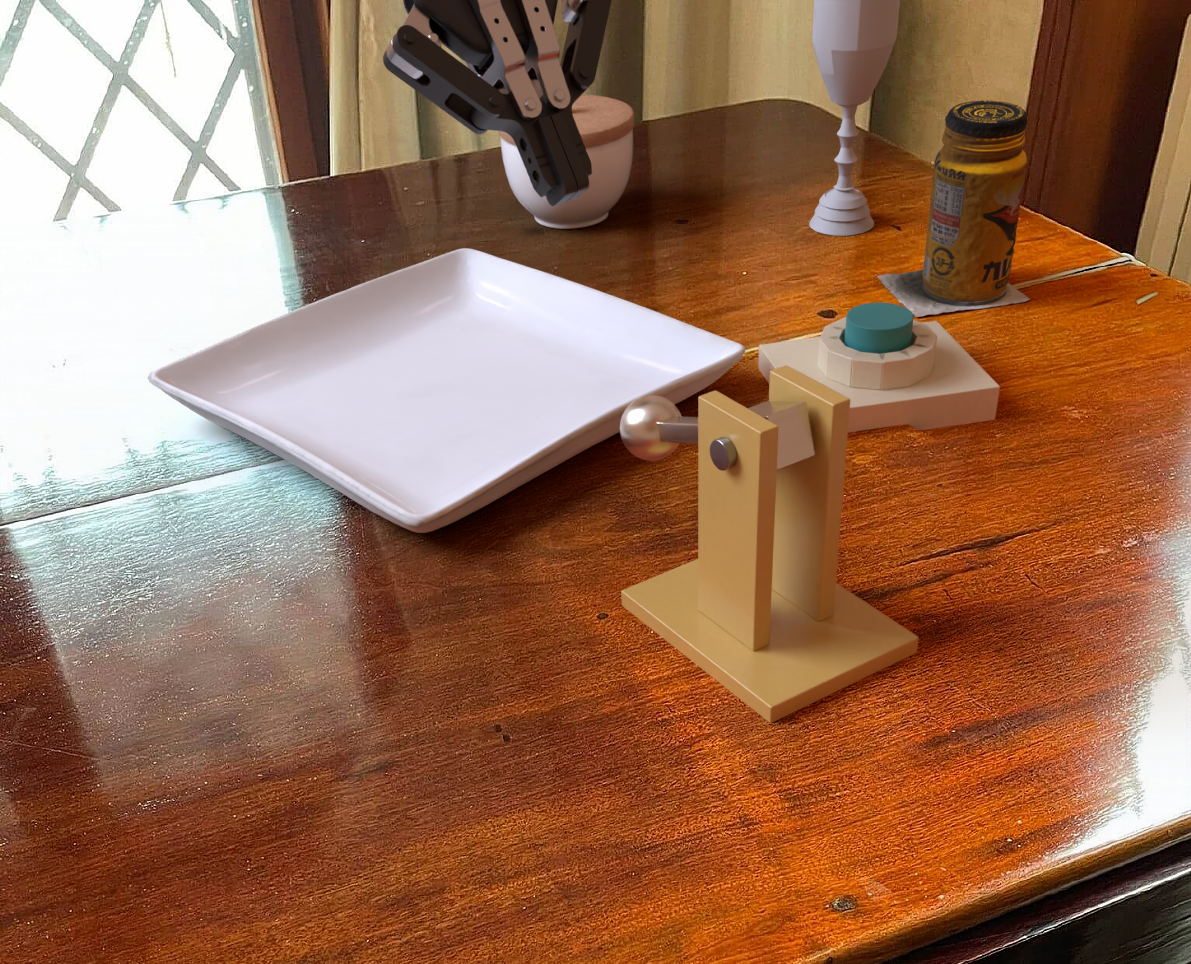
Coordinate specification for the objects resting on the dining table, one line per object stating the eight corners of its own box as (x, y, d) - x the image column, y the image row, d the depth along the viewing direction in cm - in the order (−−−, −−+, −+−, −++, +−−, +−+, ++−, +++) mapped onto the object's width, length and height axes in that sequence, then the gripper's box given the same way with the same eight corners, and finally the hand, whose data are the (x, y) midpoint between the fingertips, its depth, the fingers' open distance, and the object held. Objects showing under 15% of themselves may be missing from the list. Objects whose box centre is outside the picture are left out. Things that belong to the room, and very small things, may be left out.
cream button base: (932, 352, 93) (939, 293, 90) (995, 420, 85) (1004, 357, 83) (757, 376, 91) (759, 317, 89) (805, 447, 84) (809, 385, 81)
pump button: (896, 326, 88) (899, 298, 86) (920, 352, 85) (923, 324, 84) (835, 334, 87) (837, 307, 86) (857, 361, 84) (859, 333, 83)
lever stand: (621, 614, 72) (611, 379, 63) (759, 556, 75) (767, 325, 67) (769, 733, 64) (781, 483, 56) (916, 662, 68) (948, 416, 59)
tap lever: (616, 467, 72) (601, 405, 71) (666, 448, 73) (653, 387, 72) (770, 483, 61) (756, 410, 60) (826, 461, 62) (814, 389, 61)
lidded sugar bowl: (651, 229, 112) (648, 103, 105) (519, 247, 110) (509, 120, 104) (619, 186, 120) (614, 66, 113) (495, 202, 118) (484, 81, 112)
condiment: (1030, 302, 98) (1059, 119, 90) (916, 319, 97) (935, 135, 89) (984, 264, 103) (1008, 88, 95) (876, 280, 102) (891, 103, 94)
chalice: (834, 247, 107) (851, -20, 95) (777, 223, 111) (787, -35, 99) (906, 224, 110) (932, -38, 98) (848, 201, 114) (866, -52, 102)
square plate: (152, 426, 90) (136, 368, 88) (471, 292, 104) (465, 239, 101) (423, 577, 75) (413, 513, 73) (753, 397, 89) (755, 338, 87)
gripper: (517, -141, 73) (644, 187, 77) (287, -87, 68) (434, 260, 72) (574, -233, 66) (711, 132, 70) (323, -180, 61) (483, 209, 65)
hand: (570, 197), depth 71 cm, fingers closed
